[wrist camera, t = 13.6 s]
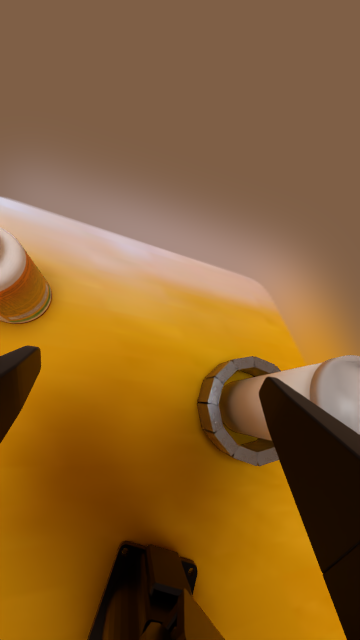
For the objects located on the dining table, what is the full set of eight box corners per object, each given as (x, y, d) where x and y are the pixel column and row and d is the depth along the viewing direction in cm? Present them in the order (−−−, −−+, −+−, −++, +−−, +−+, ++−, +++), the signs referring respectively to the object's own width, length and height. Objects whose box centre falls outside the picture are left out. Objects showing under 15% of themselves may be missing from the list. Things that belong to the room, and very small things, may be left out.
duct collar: (270, 468, 22) (292, 478, 19) (186, 437, 21) (196, 444, 18) (284, 379, 25) (304, 377, 22) (212, 349, 24) (223, 343, 21)
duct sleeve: (242, 446, 22) (389, 497, 10) (206, 404, 22) (303, 404, 10) (272, 407, 24) (421, 409, 12) (238, 369, 24) (349, 336, 12)
